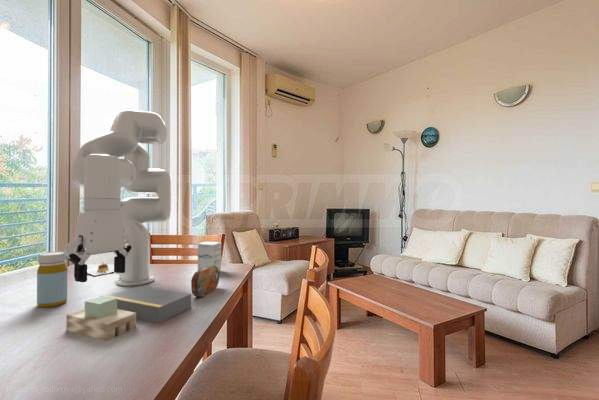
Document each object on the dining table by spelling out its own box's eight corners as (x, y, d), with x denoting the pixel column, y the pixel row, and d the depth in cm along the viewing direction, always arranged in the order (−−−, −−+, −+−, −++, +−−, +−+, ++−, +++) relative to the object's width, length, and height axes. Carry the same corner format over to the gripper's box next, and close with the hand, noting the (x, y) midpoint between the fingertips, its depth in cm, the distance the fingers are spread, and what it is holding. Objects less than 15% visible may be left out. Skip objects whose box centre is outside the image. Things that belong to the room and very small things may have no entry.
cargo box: (84, 315, 74) (84, 301, 74) (102, 308, 78) (102, 295, 78) (99, 318, 72) (99, 304, 72) (116, 311, 77) (116, 298, 77)
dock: (104, 311, 86) (104, 296, 86) (140, 298, 98) (140, 285, 98) (158, 323, 79) (159, 307, 79) (191, 307, 90) (191, 293, 90)
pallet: (66, 331, 74) (66, 314, 74) (96, 319, 81) (96, 304, 81) (107, 342, 69) (107, 324, 69) (136, 328, 76) (136, 312, 76)
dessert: (94, 278, 121) (94, 266, 121) (80, 273, 128) (80, 262, 128) (125, 272, 132) (125, 260, 131) (110, 268, 138) (110, 257, 138)
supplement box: (196, 273, 129) (197, 243, 129) (206, 269, 136) (206, 241, 136) (213, 275, 127) (213, 244, 127) (221, 270, 134) (221, 241, 134)
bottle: (72, 301, 94) (73, 252, 93) (47, 309, 87) (47, 256, 87) (57, 298, 96) (57, 250, 96) (31, 306, 89) (31, 254, 89)
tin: (198, 300, 97) (198, 273, 97) (189, 299, 97) (189, 273, 97) (219, 286, 111) (220, 263, 111) (211, 286, 112) (212, 263, 112)
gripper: (123, 205, 84) (122, 268, 84) (53, 206, 68) (51, 283, 68) (143, 206, 82) (142, 270, 81) (75, 206, 65) (74, 287, 65)
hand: (101, 276), depth 75 cm, fingers open, 9 cm apart
